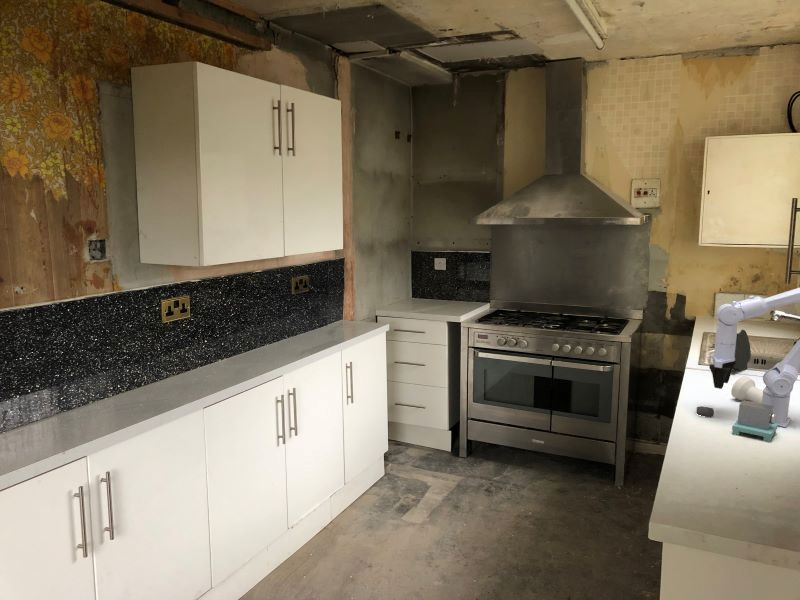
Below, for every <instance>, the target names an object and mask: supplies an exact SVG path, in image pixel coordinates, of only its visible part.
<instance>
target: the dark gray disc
mask: <svg viewBox="0 0 800 600" xmlns="http://www.w3.org/2000/svg"><path fill="white" fill-rule="evenodd" d="M696 413H697V414H698V415H697V414H696ZM714 413H715V410H714V408H712V407H709V406H701V405H700V406H697V407H696V411H695V414H696V415H697V416H699V415H701V416H700V417H703V416H705V418H712V417H711V416H713V415H714ZM713 417H714V416H713Z"/></svg>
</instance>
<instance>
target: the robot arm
mask: <svg viewBox="0 0 800 600" xmlns="http://www.w3.org/2000/svg"><path fill="white" fill-rule="evenodd" d="M795 303H800V287H797V288H794V289H791V290H790V289H789V290H788V291H787V290H786V291H784V292H781V293H778V294H775V295H772V296H769V297H766V298H763V297H762V296H759V295H758V296H755V295H750V296H748V298H747V299H743V300H739V301H736V300H734V301H732V303H724V304H722V305H720V306H719V307H718V308H717V310H716V311H715V314H716V317H717V323H716V325H717V326H716V329H715V339H714V340H715V341H714V349H713V351H714V352H713V353H712V354H709V358H712V359H713V361H714V364H712V363H710V364H709V366H708V367H709V370H710V372H711V376H712V380H713V381H712V382H713V386H714V389H719V390H723V387H724V384H729V380H730V377H731V374H732V371H733V368H734V366H735V365H736V363H737V361H735V357H734V356H735V347H736V337H737V333H738V323H739V322H740V320H741V321H744V320H748V319H752V318H755V317H759V316H763V315H765V314H766V312H767V311H768V310H769V309H772V308H778V307H782V306H786V305H791V304H795ZM799 372H800V338H799V339H798V340H797V341H796V343H795V344H794V345H793V347H792V348H791V349H790V350H789V352H788V353H787V354H786V355H785V357H784V358H783V359H782V360H781V361H779V362H777V363H776V364H775V365H774V366H773V367H772V368H770V369H768V370H766V371H765V372H764V374H763V375H762V376H763V377H762V381H763V384H765V386H764V388H763V390H762V391H763V397H762V404H765V405H770V406H774V409H773V413H774V414H776V421H775V424H778V426H777V427H783V428H787V426H788V425H789V423H790V422H791V420H792V417H789V408H790V399H791V393H792V391H793V389H794V384H795V382H796V381H797V380H798V376H799Z"/></svg>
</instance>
